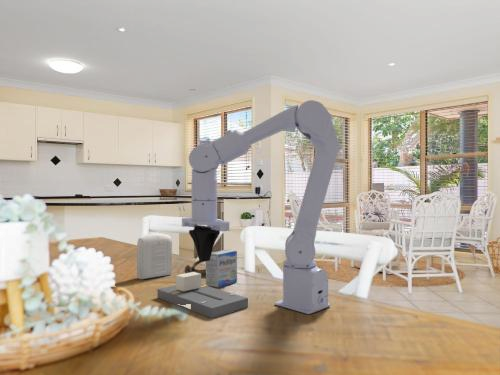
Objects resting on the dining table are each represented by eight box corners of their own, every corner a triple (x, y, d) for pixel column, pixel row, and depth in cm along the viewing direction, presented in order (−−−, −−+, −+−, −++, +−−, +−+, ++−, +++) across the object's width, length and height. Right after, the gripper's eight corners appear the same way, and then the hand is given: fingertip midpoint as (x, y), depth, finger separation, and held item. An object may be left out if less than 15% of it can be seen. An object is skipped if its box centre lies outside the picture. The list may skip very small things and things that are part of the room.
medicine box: (218, 288, 101) (218, 254, 101) (205, 285, 104) (205, 252, 104) (237, 282, 107) (237, 250, 107) (225, 280, 110) (225, 248, 110)
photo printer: (166, 272, 119) (166, 231, 119) (174, 274, 116) (174, 232, 116) (134, 278, 112) (134, 234, 112) (142, 280, 109) (142, 235, 109)
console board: (248, 307, 86) (248, 297, 86) (212, 318, 79) (212, 307, 79) (192, 289, 100) (192, 280, 100) (157, 297, 93) (157, 288, 93)
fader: (201, 287, 93) (201, 273, 93) (183, 291, 90) (183, 277, 90) (193, 285, 95) (193, 271, 95) (176, 289, 92) (176, 275, 92)
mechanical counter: (226, 259, 112) (232, 246, 121) (182, 254, 113) (191, 242, 123) (225, 283, 113) (230, 268, 123) (181, 277, 115) (190, 263, 124)
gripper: (170, 199, 91) (171, 258, 91) (211, 202, 81) (211, 268, 81) (195, 199, 96) (195, 254, 96) (236, 200, 86) (236, 263, 86)
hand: (204, 260), depth 89 cm, fingers closed
